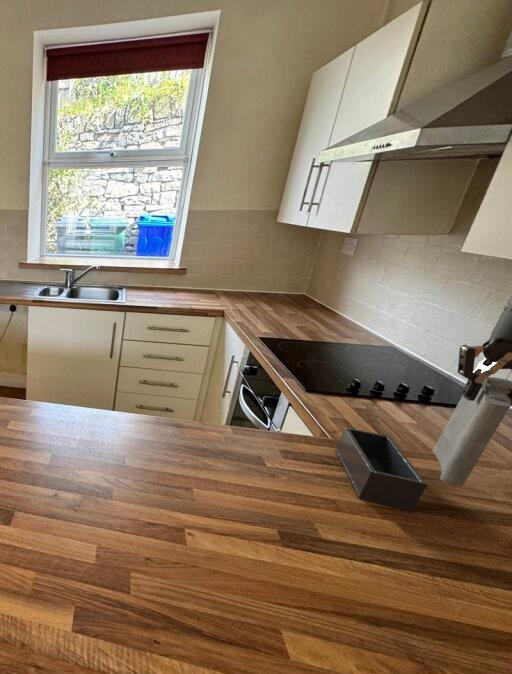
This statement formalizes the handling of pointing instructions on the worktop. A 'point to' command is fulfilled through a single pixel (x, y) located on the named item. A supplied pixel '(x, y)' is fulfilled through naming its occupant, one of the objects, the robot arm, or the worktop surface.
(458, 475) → the hip flask
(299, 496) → the worktop surface
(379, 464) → the flask holder
